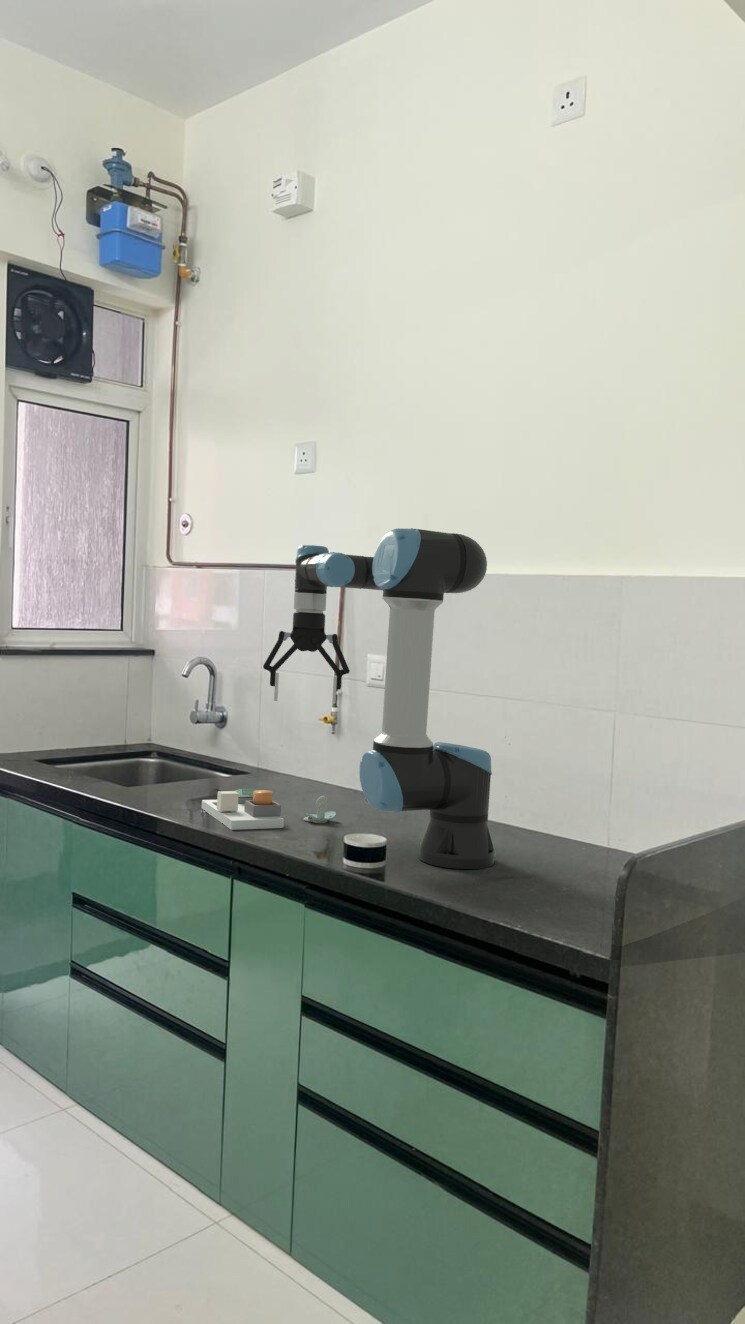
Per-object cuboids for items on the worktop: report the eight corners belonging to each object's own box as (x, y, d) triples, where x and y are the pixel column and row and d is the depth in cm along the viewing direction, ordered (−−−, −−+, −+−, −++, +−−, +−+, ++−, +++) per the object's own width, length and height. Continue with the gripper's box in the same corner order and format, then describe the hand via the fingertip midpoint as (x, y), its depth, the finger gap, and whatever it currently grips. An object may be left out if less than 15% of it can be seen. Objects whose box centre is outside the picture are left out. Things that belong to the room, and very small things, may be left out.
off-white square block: (237, 811, 228) (238, 793, 228) (220, 811, 226) (221, 793, 226) (233, 808, 231) (234, 791, 230) (216, 808, 229) (217, 791, 229)
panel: (284, 827, 224) (285, 807, 224) (231, 829, 219) (232, 809, 218) (250, 806, 245) (251, 788, 245) (201, 808, 240) (202, 789, 240)
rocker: (256, 794, 237) (256, 788, 238) (241, 794, 236) (241, 788, 236) (248, 796, 243) (248, 790, 243) (234, 796, 241) (233, 790, 241)
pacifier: (297, 821, 234) (311, 825, 229) (298, 794, 233) (312, 797, 229) (324, 818, 238) (338, 823, 233) (325, 792, 238) (339, 796, 233)
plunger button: (275, 806, 227) (275, 793, 226) (256, 807, 225) (257, 793, 225) (268, 803, 231) (269, 789, 230) (250, 803, 229) (251, 790, 229)
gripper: (360, 614, 242) (355, 703, 243) (256, 608, 239) (251, 698, 240) (364, 614, 235) (358, 705, 235) (256, 608, 232) (251, 700, 233)
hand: (304, 702), depth 238 cm, fingers open, 13 cm apart
